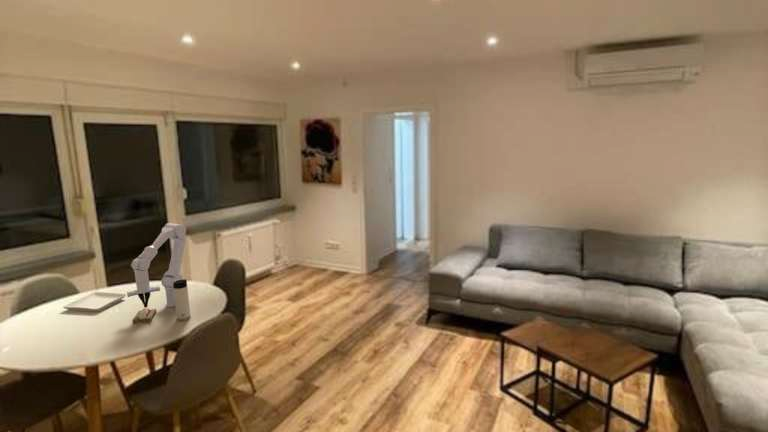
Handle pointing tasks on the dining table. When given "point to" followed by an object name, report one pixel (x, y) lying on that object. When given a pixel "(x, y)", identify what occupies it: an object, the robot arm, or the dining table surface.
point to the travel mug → (181, 300)
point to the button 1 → (142, 316)
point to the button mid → (144, 312)
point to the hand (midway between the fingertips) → (145, 306)
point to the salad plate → (95, 301)
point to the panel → (148, 319)
